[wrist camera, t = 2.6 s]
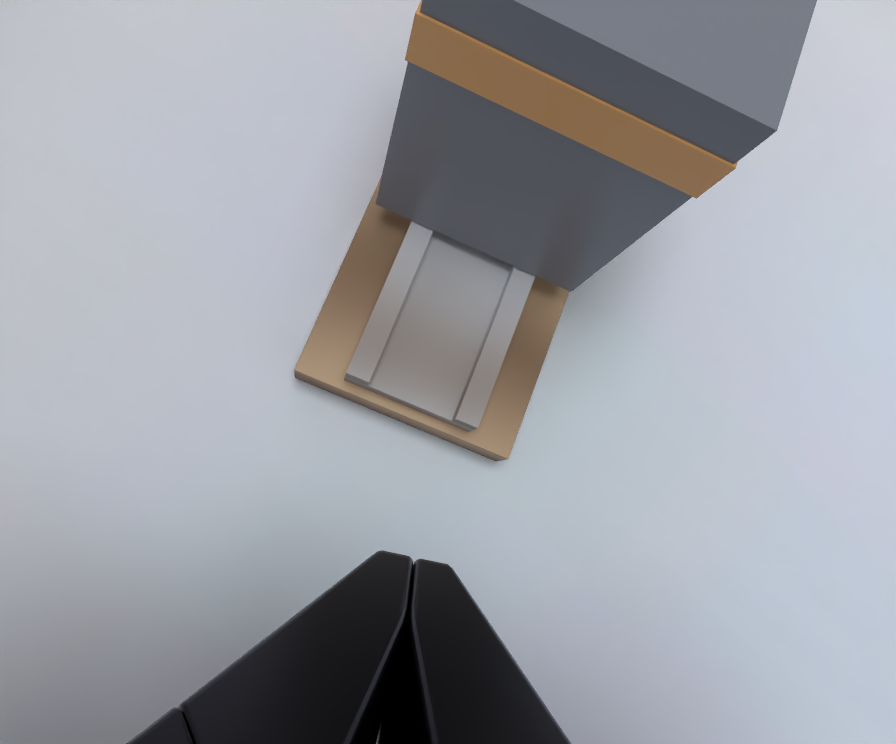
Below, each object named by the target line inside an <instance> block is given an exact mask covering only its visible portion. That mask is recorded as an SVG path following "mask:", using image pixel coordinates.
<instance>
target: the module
mask: <svg viewBox="0 0 896 744" xmlns="http://www.w3.org/2000/svg"><path fill="white" fill-rule="evenodd" d="M816 2H817V0H421V2H420V4H419V6H418V9H417V11H416V13H415V17H414V21H413V26H412V31H411V35H410V40H409V44H408V49H407V53H406V58H405V60H407V61H408V65H407V69H406V73H405V78H404V82H403V86H402V91H401V95H400V99H399V104H398V108H397V112H396V117H395V121H394V125H393V130H392V134H391V138H390V143H389V147H388V152H387V156H386V160H385V165H384V169H383V173H382V178H381V182H380V186H379V191H378V195H377V199H376V205H378V206H381V207H383V208H385V209H387V210H390V211H392V212H394V213H396V214H398V215H401V216H403V217H405V218H407V219H410V220H412V221H414V222H416V223H419V224H421V225H423V226H425V227H427V228H430V229H432V230H434V231H436V232H439V233H441V234H443V235H445V236H447V237H450V238H452V239H454V240H456V241H459V242H461V243H463V244H465V245H467V246H470V247H472V248H474V249H476V250H479V251H481V252H483V253H485V254H487V255H490V256H492V257H494V258H496V259H499V260H501V261H503V262H505V263H508V264H510V265H512V266H514V267H516V268H519V269H521V270H523V271H525V272H528V273H530V274H532V275H534V276H536V277H539V278H541V279H543V280H545V281H548V282H550V283H552V284H554V285H556V286H559V287H561V288H563V289H565V290H568V291H570V292H571V291H572V290H574V289H575V288H576V287H577V286H579V285H580V284H581V283H583V282H584V281H585V280H586V279H588V278H589V277H590V276H592V275H593V274H594V273H595V272H597V271H598V270H599V269H600V268H602V267H603V266H604V265H606V264H607V263H608V262H609V261H611V260H612V259H613V258H615V257H616V256H617V255H618V254H620V253H621V252H622V251H624V250H625V249H626V248H627V247H629V246H630V245H631V244H632V243H634V242H635V241H636V240H638V239H639V238H640V237H641V236H643V235H644V234H645V233H647V232H648V231H649V230H650V229H652V228H653V227H654V226H656V225H657V224H658V223H659V222H661V221H662V220H663V219H664V218H666V217H667V216H668V215H670V214H671V213H672V212H673V211H675V210H676V209H677V208H679V207H680V206H681V205H682V204H684V203H685V202H686V201H688V200H689V199H690V198H691V197H694V198H698V197H699V196H700V195H702V194H703V193H704V192H705V191H707V190H708V189H709V188H711V187H712V186H713V185H715V184H716V183H717V182H718V181H720V180H721V179H722V178H724V177H725V176H726V175H728V174H729V173H730V172H731V171H733V170H734V169H735V168H736V165H737V162H738V161H739V160H740V159H741V158H743V157H744V156H745V155H746V154H748V153H749V152H750V151H751V150H753V149H754V148H755V147H757V146H758V145H759V144H760V143H762V142H763V141H764V140H766V139H767V138H768V137H769V136H771V135H772V134H773V133H775V132H776V131H777V129H778V126H779V122H780V119H781V116H782V113H783V109H784V106H785V103H786V100H787V96H788V93H789V90H790V86H791V83H792V80H793V77H794V73H795V70H796V67H797V64H798V60H799V57H800V54H801V51H802V47H803V44H804V41H805V38H806V34H807V31H808V28H809V24H810V21H811V18H812V15H813V11H814V8H815V5H816Z"/></svg>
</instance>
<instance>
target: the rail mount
mask: <svg viewBox="0 0 896 744" xmlns="http://www.w3.org/2000/svg"><path fill="white" fill-rule="evenodd" d="M381 178H382V176H381ZM381 178H380V181H379V183H378V185H377V187H376V190H375V192H374V194H373V196H372V198H371V201H370V203H369V205H368V207H367V210H366V212H365V214H364V216H363V218H362V221H361V223H360V225H359V227H358V229H357V232H356V234H355V236H354V238H353V241H352V243H351V245H350V247H349V249H348V252H347V254H346V256H345V258H344V261H343V263H342V265H341V267H340V269H339V272H338V274H337V276H336V278H335V281H334V283H333V285H332V287H331V289H330V292H329V294H328V296H327V298H326V301H325V303H324V305H323V307H322V309H321V312H320V314H319V316H318V318H317V321H316V323H315V325H314V327H313V329H312V332H311V334H310V336H309V338H308V340H307V343H306V345H305V347H304V349H303V352H302V354H301V356H300V358H299V360H298V363H297V365H296V367H295V369H294V372H295V378H298V379H300V380H303V381H305V382H307V383H310V384H312V385H315V386H317V387H319V388H322V389H324V390H327V391H329V392H331V393H334V394H336V395H339V396H341V397H344V398H346V399H348V400H351V401H353V402H356V403H358V404H360V405H363V406H365V407H368V408H370V409H372V410H375V411H377V412H380V413H382V414H384V415H387V416H389V417H392V418H394V419H397V420H399V421H401V422H404V423H406V424H409V425H411V426H413V427H416V428H418V429H421V430H423V431H425V432H428V433H430V434H433V435H435V436H437V437H440V438H442V439H445V440H447V441H450V442H452V443H454V444H457V445H459V446H462V447H464V448H466V449H469V450H471V451H474V452H476V453H478V454H481V455H483V456H486V457H488V458H490V459H493V460H495V461H499V460H505V459H508V458H509V455H510V453H511V450H512V447H513V444H514V442H515V439H516V436H517V433H518V431H519V428H520V425H521V422H522V420H523V417H524V414H525V411H526V409H527V406H528V403H529V400H530V398H531V395H532V392H533V389H534V387H535V384H536V381H537V378H538V376H539V373H540V370H541V367H542V365H543V362H544V359H545V356H546V354H547V351H548V348H549V345H550V343H551V340H552V337H553V334H554V332H555V329H556V326H557V323H558V321H559V318H560V315H561V312H562V310H563V307H564V304H565V301H566V299H567V296H568V293H569V291H568V290H565V289H563V288H561V287H559V286H556V285H554V284H552V283H550V282H548V281H545V280H543V279H541V278H539V277H536V276H534V275H532V274H530V273H528V272H525V271H523V270H521V269H519V268H516V267H514V266H512V265H510V264H508V263H505V262H503V261H501V260H499V259H496V258H494V257H492V256H490V255H487V254H485V253H483V252H481V251H479V250H476V249H474V248H472V247H470V246H467V245H465V244H463V243H461V242H459V241H456V240H454V239H452V238H450V237H447V236H445V235H443V234H441V233H439V232H436V231H434V230H432V229H430V228H427V227H425V226H423V225H421V224H419V223H416V222H414V221H412V220H410V219H407V218H405V217H403V216H401V215H398V214H396V213H394V212H392V211H390V210H387V209H385V208H383V207H381V206H378V205H376V199H377V195H378V191H379V186H380V182H381Z"/></svg>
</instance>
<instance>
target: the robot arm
mask: <svg viewBox="0 0 896 744" xmlns="http://www.w3.org/2000/svg"><path fill="white" fill-rule="evenodd" d="M378 733H379V735H378ZM377 737H378V742H377V744H571V743H570V741H569V740H568V738H567V737H566V735H565V734H564V732H563V731H562V729H561V728H560V726H559V725H558V723H557V722H556V720H555V719H554V718H553V716H552V715H551V713H550V712H549V710H548V709H547V707H546V706H545V704H544V703H543V701H542V700H541V698H540V697H539V695H538V694H537V692H536V691H535V689H534V688H533V687H532V685H531V684H530V682H529V681H528V679H527V678H526V676H525V675H524V673H523V672H522V670H521V669H520V667H519V666H518V664H517V663H516V661H515V660H514V658H513V657H512V656H511V654H510V653H509V651H508V650H507V648H506V647H505V645H504V644H503V642H502V641H501V639H500V638H499V636H498V635H497V633H496V632H495V630H494V629H493V627H492V626H491V625H490V623H489V622H488V620H487V619H486V617H485V616H484V614H483V613H482V611H481V610H480V608H479V607H478V605H477V604H476V602H475V601H474V599H473V598H472V596H471V595H470V594H469V592H468V591H467V589H466V588H465V586H464V585H463V583H462V582H461V580H460V579H459V577H458V576H457V574H456V573H455V571H454V570H453V568H451V567H450V566H449V565H447V564H443V563H439V562H434V561H429V560H424V559H418V560H416V561H415V562H414V565H413V560H412V559H411V558H410V557H409V556H406V555H401V554H396V553H391V552H387V551H378V552H376V553H375V554H373V555H372V556H371V557H370V558H368V559H367V560H366V561H364V562H363V563H362V564H361V565H359V566H358V567H357V568H355V569H354V570H353V571H352V572H350V573H349V574H348V575H346V576H345V577H344V578H343V579H341V580H340V581H339V582H337V583H336V584H335V585H333V586H332V587H331V588H330V589H328V590H327V591H326V592H324V593H323V594H322V595H321V596H319V597H318V598H317V599H315V600H314V601H313V602H312V603H310V604H309V605H308V606H306V607H305V608H304V609H303V610H301V611H300V612H299V613H297V614H296V615H295V616H293V617H292V618H291V619H290V620H288V621H287V622H286V623H284V624H283V625H282V626H281V627H279V628H278V629H277V630H275V631H274V632H273V633H272V634H270V635H269V636H268V637H266V638H265V639H264V640H263V641H261V642H260V643H259V644H257V645H256V646H255V647H253V648H252V649H251V650H250V651H248V652H247V653H246V654H244V655H243V656H242V657H241V658H239V659H238V660H237V661H235V662H234V663H233V664H232V665H230V666H229V667H228V668H226V669H225V670H224V671H223V672H221V673H220V674H219V675H217V676H216V677H215V678H214V679H212V680H211V681H210V682H208V683H207V684H206V685H204V686H203V687H202V688H201V689H199V690H198V691H197V692H195V693H194V694H193V695H192V696H190V697H189V698H188V699H186V700H185V701H184V702H183V703H181V704H180V706H179V708H173V709H171V710H170V711H169V712H167V713H166V714H165V715H164V716H162V717H161V718H160V719H158V720H157V721H156V722H155V723H153V724H152V725H151V726H149V727H148V728H147V729H145V730H144V731H143V732H142V733H140V734H139V735H138V736H136V737H135V738H133V739H132V740H131V741H129V742H128V743H127V744H376V741H377Z"/></svg>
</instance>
